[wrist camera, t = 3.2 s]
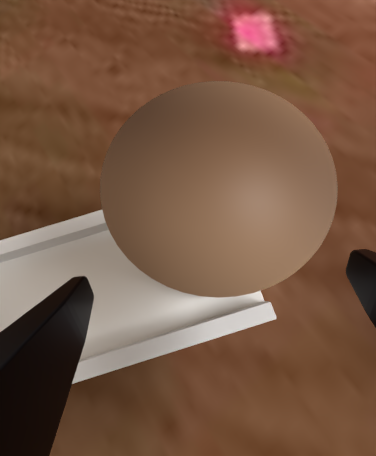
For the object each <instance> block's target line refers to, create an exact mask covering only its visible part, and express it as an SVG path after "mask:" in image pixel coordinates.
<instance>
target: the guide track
mask: <svg viewBox="0 0 376 456" xmlns="http://www.w3.org/2000/svg"><path fill="white" fill-rule="evenodd" d="M77 276H86V277H87V279H88V281H89V283H90V286H91V288H92V291H93V294H94V301H93V306H92V311H91V316H90V321H89V326H88V331H87V336H86V340H85V344H84V347H83V350H82V354H81V357H80V360H79V363H78V366H77V369H76V373H75V376H74V379H73V382H72V384H73V383H76V382H79V381H83V380H86V379H89V378H92V377H95V376H98V375H101V374H105V373H108V372H111V371H114V370H117V369H120V368H123V367H127V366H130V365H133V364H136V363H139V362H142V361H145V360H149V359H152V358H155V357H158V356H161V355H164V354H167V353H171V352H174V351H177V350H180V349H183V348H186V347H189V346H193V345H196V344H199V343H202V342H205V341H208V340H211V339H215V338H218V337H221V336H224V335H227V334H230V333H233V332H237V331H240V330H243V329H246V328H249V327H252V326H255V325H259V324H262V323H265V322H268V321H271V320H274V319H277V318H276V315H275V313H274V310H273V307H272V305H271V302H267V301H264V299H263V296H262V293H261V291H258V292H255V293H251V294H246V295H241V296H236V297H220V298H216V297H203V296H197V295H192V294H187V293H183V292H180V291H178V290H175V289H172V288H169V287H167V286H165V285H163V284H161V283H159V282H157V281H155V280H153V279H152V278H150V277H149V276H148V275H146V274H145V273H143V272H142V271H141V270H139V269H138V268H137V267H136V266H135V265H134V264H133V263H132V262H131V261H130V260H129V259H128V258H127V257H126V256H125V255H124V253H123V252H122V251H121V250H120V248H119V247H118V246H117V244H116V242H115V240H114V239H113V237H112V235H111V234H110V231H109V229H108V226H107V224H106V221H105V219H104V214H103V210H99V211H96V212H93V213H89V214H86V215H83V216H80V217H76V218H73V219H70V220H66V221H63V222H60V223H56V224H53V225H50V226H46V227H43V228H40V229H37V230H33V231H30V232H27V233H23V234H20V235H17V236H13V237H10V238H7V239H4V240H0V332H1V331H3V330H4V329H5V328H6V327H8V326H9V325H10V324H12V323H13V322H14V321H16V320H17V319H18V318H20V317H21V316H22V315H24V314H25V313H26V312H28V311H29V310H30V309H32V308H33V307H34V306H36V305H37V304H38V303H40V302H41V301H42V300H43V299H45V298H46V297H47V296H49V295H50V294H51V293H53V292H54V291H55V290H57V289H58V288H59V287H61V286H62V285H63V284H65V283H66V282H67V281H69V280H70V279H71V278H73V277H77Z"/></svg>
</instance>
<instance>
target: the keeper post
mask: <svg viewBox="0 0 376 456" xmlns="http://www.w3.org/2000/svg"><path fill="white" fill-rule="evenodd" d="M337 190H338V187H337V176H336V170H335V166H334V162H333V158H332V156H331V153H330V151H329V148H328V146H327V144H326V142H325V141H324V139H323V137H322V135H321V134H320V132H319V131H318V130H317V128H316V127H315V126H314V124H313V123H312V122H311V121H310V120H309V119H308V118H307V117H306V116H305V115H304V114H303V113H302V112H301V111H300V110H298V109H297V108H296V107H295V106H293V105H292V104H291V103H289V102H288V101H286V100H284V99H283V98H281V97H280V96H277V95H275V94H273V93H271V92H269V91H267V90H264V89H261V88H258V87H255V86H251V85H247V84H243V83H236V82H228V81H210V82H199V83H194V84H189V85H185V86H182V87H179V88H176V89H173V90H170V91H168V92H166V93H163V94H161V95H159V96H158V97H156V98H154V99H152V100H151V101H149V102H148V103H146V104H145V105H144V106H142V107H141V108H140V109H138V110H137V111H136V112H135V113H134V114H133V115H132V116H131V117H130V118H129V119H128V120H127V121H126V122H125V123H124V125H123V126H122V127H121V128H120V130H119V131H118V133H117V134H116V136H115V137H114V139H113V141H112V143H111V145H110V147H109V149H108V151H107V154H106V157H105V160H104V163H103V167H102V173H101V179H100V197H101V206H102V210H103V214H104V219H105V221H106V224H107V226H108V229H109V231H110V234H111V235H112V237H113V239H114V240H115V242H116V244H117V246H118V247H119V248H120V250H121V251H122V252H123V253H124V255H125V256H126V257H127V258H128V259H129V260H130V261H131V262H132V263H133V264H134V265H135V266H136V267H137V268H138V269H139V270H141V271H142V272H143V273H145V274H146V275H148V276H149V277H150V278H152V279H153V280H155V281H157V282H159V283H161V284H163V285H165V286H167V287H169V288H172V289H175V290H178V291H180V292H183V293H187V294H192V295H197V296H203V297H216V298H220V297H236V296H241V295H246V294H251V293H255V292H258V291H261V290H264V289H266V288H269V287H271V286H273V285H275V284H277V283H279V282H281V281H283V280H285V279H286V278H288V277H289V276H291V275H292V274H293V273H295V272H296V271H298V270H299V269H300V268H301V267H302V266H303V265H304V264H305V263H306V262H307V261H308V260H309V259H311V257H312V256H313V255H314V253H315V252H316V251H317V250H318V248H319V247H320V246H321V244H322V242H323V240H324V239H325V237H326V235H327V233H328V231H329V229H330V226H331V223H332V221H333V218H334V214H335V209H336V204H337Z"/></svg>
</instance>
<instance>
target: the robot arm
mask: <svg viewBox="0 0 376 456" xmlns="http://www.w3.org/2000/svg"><path fill="white" fill-rule="evenodd" d="M346 274H347V277H348V279H349V281H350V283H351V285H352V287H353V289H354V290H355V292H356V294H357V296H358V298H359V300H360V302H361V304H362V306H363V307H364V309H365V311H366V313H367V315H368V316H369V318H370V320H371V321H372V323H373V324H374V326H375V327H376V253H375V252H373V251H370V250H367V249H360V250H353V251H352V252H351V254H350V257H349V260H348V264H347V268H346ZM93 301H94V294H93V291H92V288H91V286H90V283H89V281H88V279H87V277H86V276H77V277H73V278H71V279H70V280H69V281H67V282H66V283H65V284H63V285H62V286H61V287H59V288H58V289H57V290H55V291H54V292H53V293H51V294H50V295H49V296H47V297H46V298H45V299H43V300H42V301H41V302H40V303H38V304H37V305H36V306H34V307H33V308H32V309H30V310H29V311H28V312H26V313H25V314H24V315H22V316H21V317H20V318H18V319H17V320H16V321H14V322H13V323H12V324H10V325H9V326H8V327H6V328H5V329H4V330H3V331H1V332H0V456H49V454H50V451H51V448H52V445H53V442H54V439H55V436H56V432H57V429H58V426H59V423H60V420H61V417H62V414H63V410H64V407H65V404H66V401H67V398H68V395H69V391H70V388H71V385H72V382H73V379H74V376H75V373H76V369H77V366H78V363H79V360H80V357H81V354H82V350H83V347H84V344H85V340H86V336H87V331H88V326H89V321H90V316H91V311H92V306H93Z"/></svg>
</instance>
